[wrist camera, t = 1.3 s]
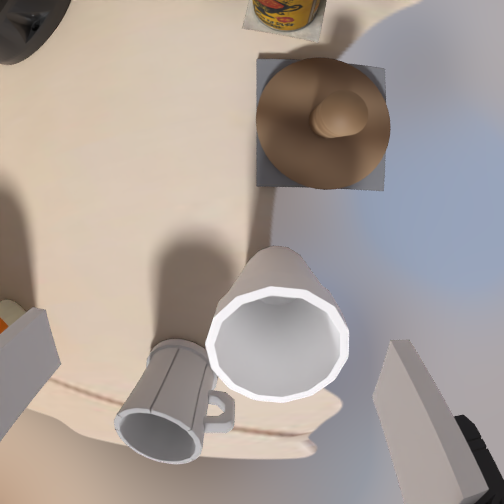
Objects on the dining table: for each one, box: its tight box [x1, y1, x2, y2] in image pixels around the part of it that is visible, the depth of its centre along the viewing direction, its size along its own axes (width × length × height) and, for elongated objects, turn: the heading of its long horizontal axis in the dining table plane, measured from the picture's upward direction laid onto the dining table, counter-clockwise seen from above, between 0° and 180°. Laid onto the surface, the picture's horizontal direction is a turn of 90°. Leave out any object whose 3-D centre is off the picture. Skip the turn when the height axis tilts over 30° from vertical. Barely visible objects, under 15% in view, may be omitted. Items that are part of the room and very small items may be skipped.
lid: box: [256, 58, 390, 190], centre depth 22 cm, size 12×12×9 cm
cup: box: [114, 339, 235, 464], centre depth 31 cm, size 10×9×12 cm
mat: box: [257, 59, 386, 191], centre depth 27 cm, size 12×12×1 cm
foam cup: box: [205, 246, 349, 403], centre depth 26 cm, size 10×9×13 cm
